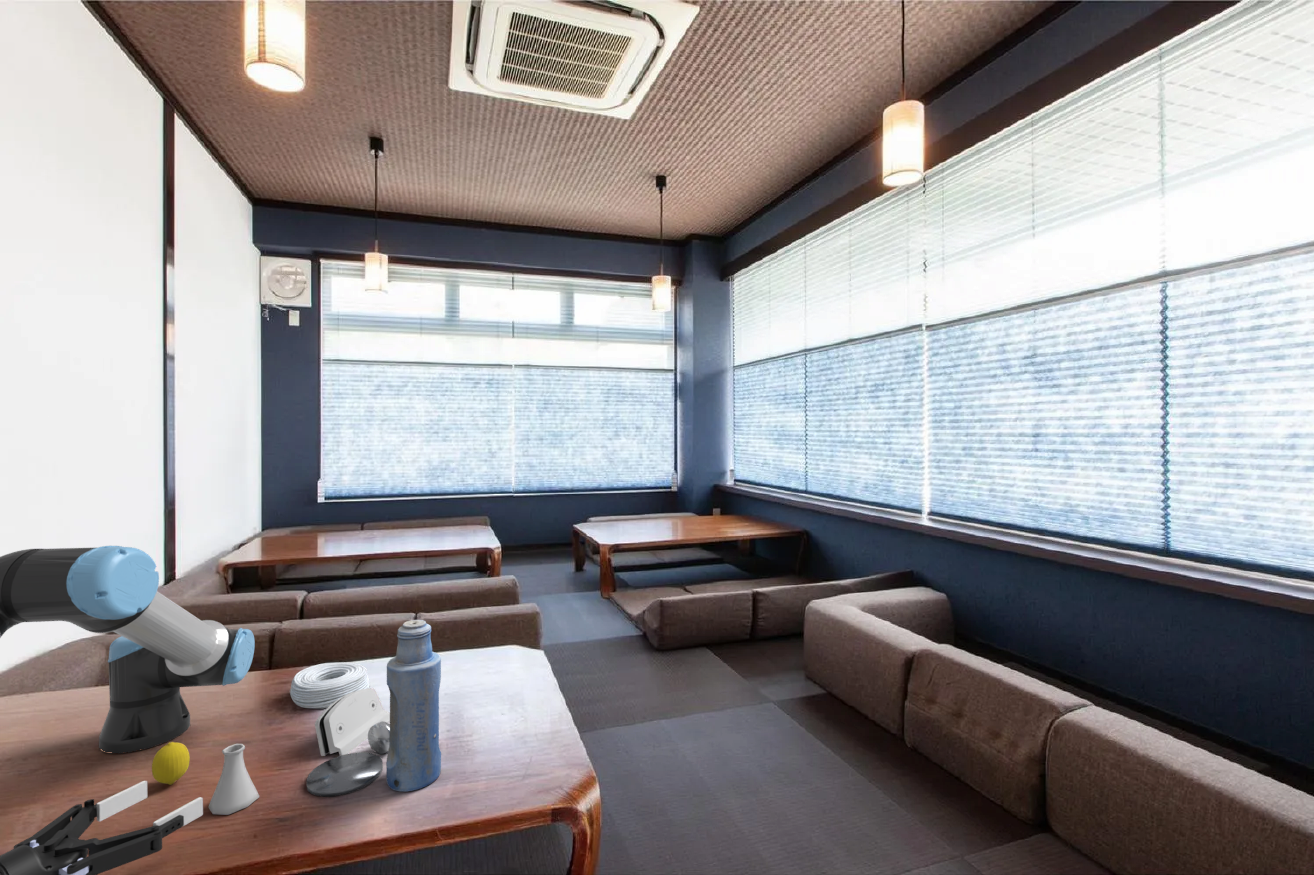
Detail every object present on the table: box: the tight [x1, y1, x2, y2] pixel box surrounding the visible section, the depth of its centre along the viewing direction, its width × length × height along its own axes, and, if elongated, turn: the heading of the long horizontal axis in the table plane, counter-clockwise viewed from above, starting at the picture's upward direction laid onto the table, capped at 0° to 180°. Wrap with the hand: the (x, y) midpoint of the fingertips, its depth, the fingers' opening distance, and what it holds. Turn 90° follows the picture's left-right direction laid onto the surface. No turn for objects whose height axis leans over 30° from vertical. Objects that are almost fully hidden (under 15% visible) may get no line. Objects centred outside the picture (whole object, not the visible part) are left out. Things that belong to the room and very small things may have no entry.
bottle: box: [385, 619, 442, 792], centre depth 113 cm, size 10×10×30 cm
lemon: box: [151, 741, 191, 786], centre depth 111 cm, size 6×6×8 cm
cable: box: [289, 662, 371, 710], centre depth 149 cm, size 18×18×6 cm
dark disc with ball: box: [306, 721, 390, 798], centre depth 120 cm, size 13×26×6 cm, turn 160°
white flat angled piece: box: [314, 687, 390, 757], centre depth 129 cm, size 17×5×10 cm, turn 169°
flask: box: [207, 743, 260, 816], centre depth 106 cm, size 7×7×10 cm
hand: (173, 796), depth 96 cm, fingers open, 13 cm apart
